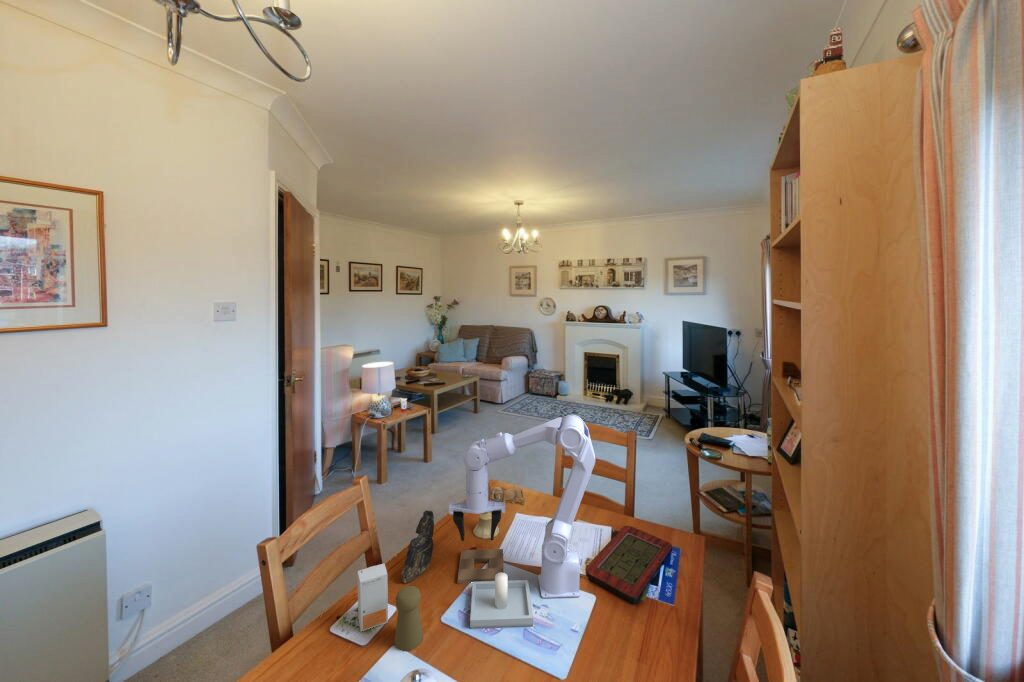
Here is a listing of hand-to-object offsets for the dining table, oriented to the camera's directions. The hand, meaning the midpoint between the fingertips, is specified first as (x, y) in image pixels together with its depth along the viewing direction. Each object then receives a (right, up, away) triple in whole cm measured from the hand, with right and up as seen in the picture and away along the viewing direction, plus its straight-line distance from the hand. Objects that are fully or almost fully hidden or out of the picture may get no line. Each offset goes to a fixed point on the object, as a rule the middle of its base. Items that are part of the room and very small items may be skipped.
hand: (477, 538), depth 102 cm
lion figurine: (+8, -7, +36) cm, 37 cm away
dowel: (+7, -11, -10) cm, 16 cm away
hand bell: (+1, -9, +21) cm, 23 cm away
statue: (-16, -10, +3) cm, 19 cm away
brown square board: (+1, -10, +4) cm, 11 cm away
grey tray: (+7, -11, -10) cm, 16 cm away
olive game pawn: (-13, -12, -19) cm, 26 cm away
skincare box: (-22, -12, -14) cm, 29 cm away
